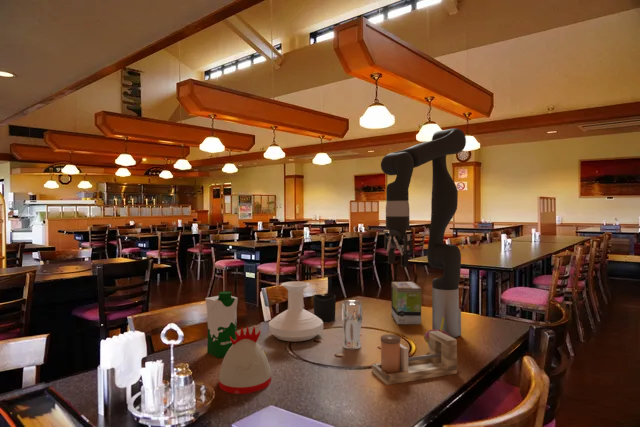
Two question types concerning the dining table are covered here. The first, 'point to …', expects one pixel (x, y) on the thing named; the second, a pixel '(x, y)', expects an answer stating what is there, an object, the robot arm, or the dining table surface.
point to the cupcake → (426, 336)
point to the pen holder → (325, 307)
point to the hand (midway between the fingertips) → (397, 265)
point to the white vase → (295, 317)
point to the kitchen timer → (245, 365)
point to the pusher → (411, 358)
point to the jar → (390, 354)
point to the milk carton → (221, 323)
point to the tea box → (406, 303)
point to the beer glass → (351, 323)
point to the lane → (426, 362)
